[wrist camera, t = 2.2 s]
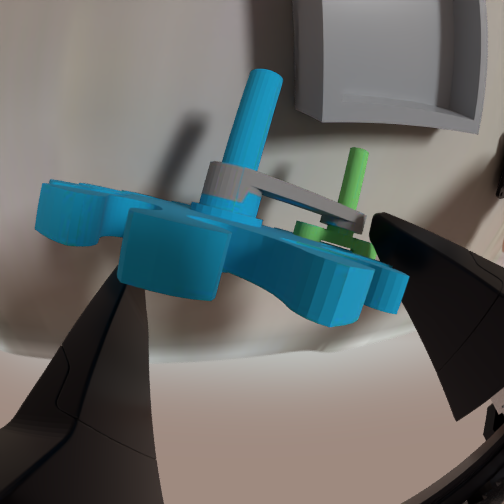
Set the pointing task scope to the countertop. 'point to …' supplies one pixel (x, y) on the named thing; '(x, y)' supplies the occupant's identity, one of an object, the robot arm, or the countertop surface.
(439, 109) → the tray
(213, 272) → the gear
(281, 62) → the countertop surface
